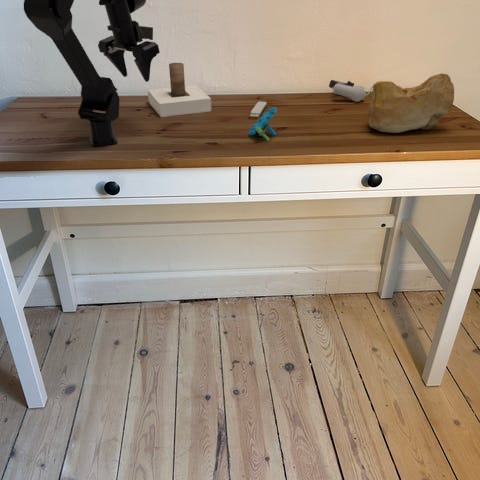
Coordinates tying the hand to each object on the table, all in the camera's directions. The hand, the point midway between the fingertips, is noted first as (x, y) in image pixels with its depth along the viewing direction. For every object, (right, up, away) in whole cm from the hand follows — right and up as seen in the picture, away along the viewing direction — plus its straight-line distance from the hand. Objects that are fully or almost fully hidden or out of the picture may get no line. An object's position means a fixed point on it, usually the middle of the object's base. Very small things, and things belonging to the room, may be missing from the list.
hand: (136, 78), depth 130 cm
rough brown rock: (+76, -12, +6) cm, 77 cm away
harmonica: (+35, -5, +16) cm, 38 cm away
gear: (+35, -16, -2) cm, 39 cm away
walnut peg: (+9, -2, +19) cm, 21 cm away
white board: (+9, -2, +19) cm, 21 cm away
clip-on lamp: (+68, +3, +29) cm, 74 cm away
